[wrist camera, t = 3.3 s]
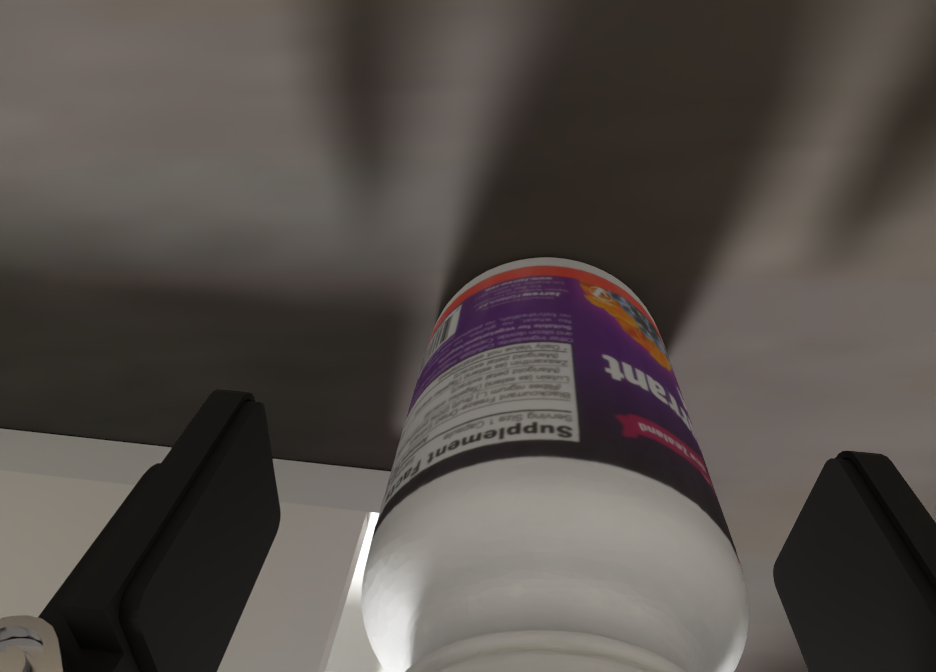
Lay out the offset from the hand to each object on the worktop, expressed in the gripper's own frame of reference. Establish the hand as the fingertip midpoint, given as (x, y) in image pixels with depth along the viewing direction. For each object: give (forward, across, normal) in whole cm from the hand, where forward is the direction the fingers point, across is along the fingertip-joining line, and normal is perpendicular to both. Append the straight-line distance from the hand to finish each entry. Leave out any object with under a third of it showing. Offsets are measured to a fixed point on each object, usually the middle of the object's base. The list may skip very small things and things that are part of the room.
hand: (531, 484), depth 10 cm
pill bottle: (+5, 0, 0) cm, 5 cm away
